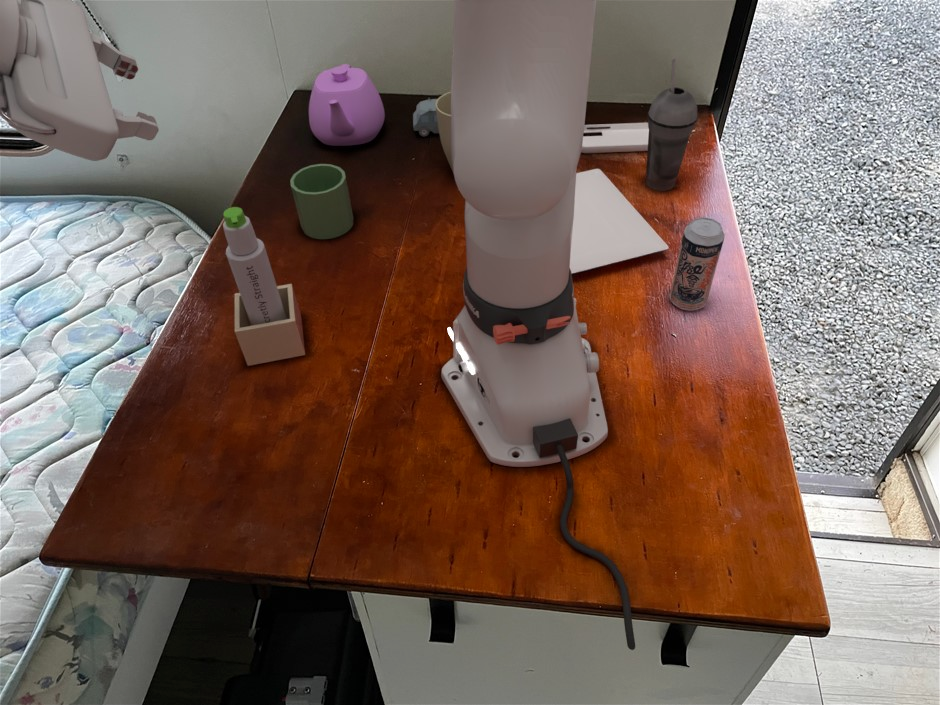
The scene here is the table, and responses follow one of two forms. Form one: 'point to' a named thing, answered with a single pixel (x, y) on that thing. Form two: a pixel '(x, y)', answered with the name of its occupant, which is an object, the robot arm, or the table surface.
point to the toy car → (426, 117)
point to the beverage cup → (668, 134)
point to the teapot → (345, 107)
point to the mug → (445, 124)
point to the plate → (607, 226)
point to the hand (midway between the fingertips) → (144, 98)
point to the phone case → (616, 138)
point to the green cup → (322, 201)
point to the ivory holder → (270, 331)
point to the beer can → (696, 263)
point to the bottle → (251, 269)
